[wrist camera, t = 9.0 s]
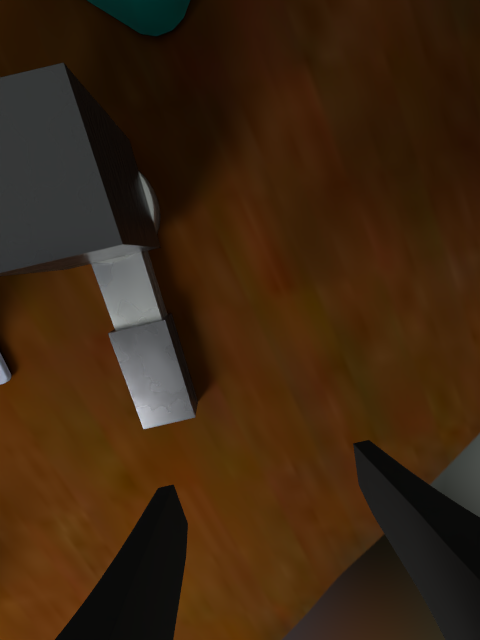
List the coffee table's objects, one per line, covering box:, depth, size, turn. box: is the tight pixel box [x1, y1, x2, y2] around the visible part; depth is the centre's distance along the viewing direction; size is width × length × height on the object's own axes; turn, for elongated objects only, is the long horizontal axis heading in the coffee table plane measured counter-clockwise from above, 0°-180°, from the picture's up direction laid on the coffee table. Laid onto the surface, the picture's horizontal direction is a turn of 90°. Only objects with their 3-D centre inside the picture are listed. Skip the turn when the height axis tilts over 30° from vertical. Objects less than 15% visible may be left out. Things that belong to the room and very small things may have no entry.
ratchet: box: [92, 172, 198, 429], centre depth 15 cm, size 17×6×5 cm, turn 13°
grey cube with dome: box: [0, 63, 161, 276], centre depth 12 cm, size 6×6×6 cm
